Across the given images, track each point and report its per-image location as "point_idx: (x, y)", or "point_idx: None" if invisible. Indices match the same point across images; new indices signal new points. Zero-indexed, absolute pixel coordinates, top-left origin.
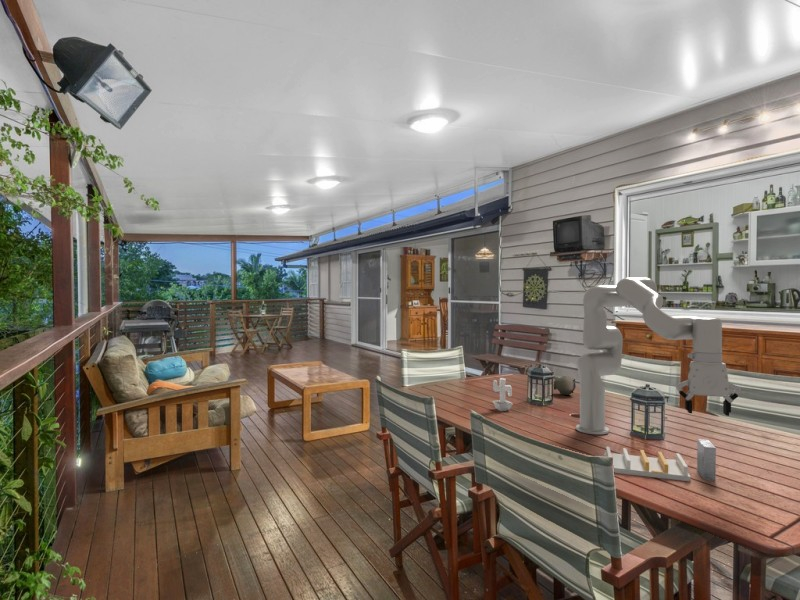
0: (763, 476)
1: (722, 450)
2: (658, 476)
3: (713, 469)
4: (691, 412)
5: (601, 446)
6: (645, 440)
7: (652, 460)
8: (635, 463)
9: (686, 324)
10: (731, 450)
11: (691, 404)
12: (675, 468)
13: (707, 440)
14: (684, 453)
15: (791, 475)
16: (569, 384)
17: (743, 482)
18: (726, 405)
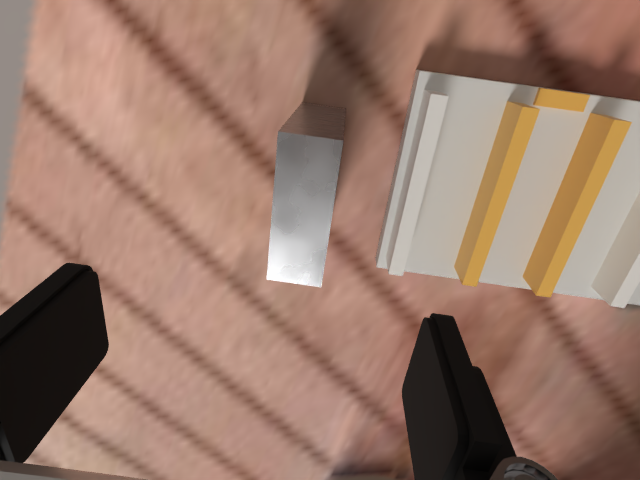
0: (103, 191)
1: (175, 406)
2: (550, 88)
3: (305, 110)
4: (435, 317)
5: (599, 399)
6: (397, 461)
7: (500, 248)
8: (603, 199)
9: None
10: (147, 408)
11: (454, 394)
12: (442, 167)
13: (276, 266)
14: (311, 368)
15: (9, 219)
16: None
17: (194, 108)
18: (9, 343)
